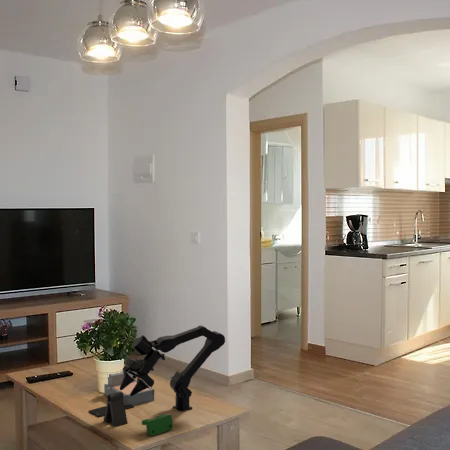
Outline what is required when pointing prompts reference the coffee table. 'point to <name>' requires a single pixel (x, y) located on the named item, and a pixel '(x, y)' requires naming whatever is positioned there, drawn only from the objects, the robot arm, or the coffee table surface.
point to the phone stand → (115, 410)
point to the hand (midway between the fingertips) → (125, 392)
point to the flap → (116, 382)
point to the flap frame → (132, 400)
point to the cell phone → (101, 411)
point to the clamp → (158, 424)
